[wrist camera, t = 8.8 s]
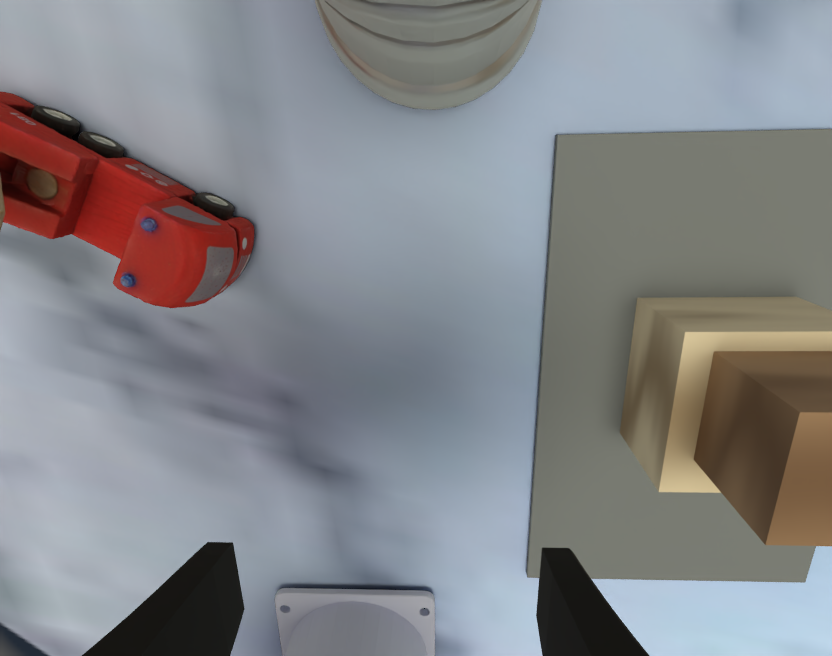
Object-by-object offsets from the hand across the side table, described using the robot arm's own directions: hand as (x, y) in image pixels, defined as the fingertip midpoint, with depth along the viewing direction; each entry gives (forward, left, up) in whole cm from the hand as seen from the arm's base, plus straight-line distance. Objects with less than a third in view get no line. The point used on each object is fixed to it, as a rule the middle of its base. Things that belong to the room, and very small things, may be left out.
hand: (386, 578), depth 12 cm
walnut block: (+1, -12, -6) cm, 14 cm away
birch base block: (+1, -12, -10) cm, 16 cm away
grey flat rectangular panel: (0, -12, -10) cm, 16 cm away
